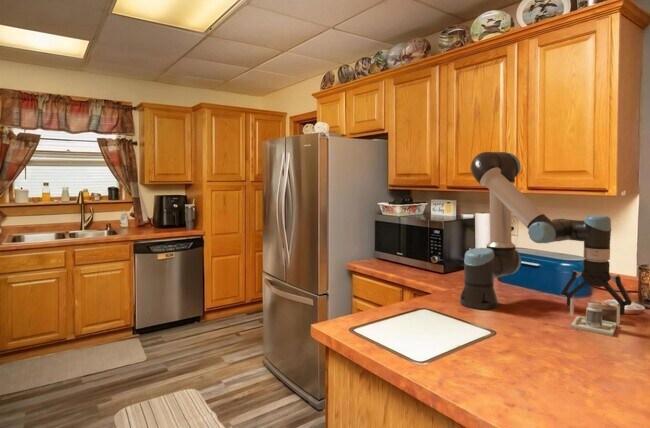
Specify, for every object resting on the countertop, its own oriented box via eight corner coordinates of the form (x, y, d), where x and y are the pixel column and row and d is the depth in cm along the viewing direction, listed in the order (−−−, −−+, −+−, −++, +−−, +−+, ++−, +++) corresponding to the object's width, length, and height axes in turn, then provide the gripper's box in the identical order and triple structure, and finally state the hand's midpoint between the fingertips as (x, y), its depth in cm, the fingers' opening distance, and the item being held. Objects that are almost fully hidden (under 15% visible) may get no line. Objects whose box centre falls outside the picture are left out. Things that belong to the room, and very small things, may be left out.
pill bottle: (604, 328, 134) (605, 304, 133) (589, 327, 135) (590, 304, 134) (597, 323, 139) (598, 300, 138) (583, 322, 140) (584, 300, 139)
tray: (570, 328, 136) (570, 324, 136) (577, 318, 145) (577, 315, 145) (612, 336, 128) (613, 333, 128) (616, 326, 137) (617, 322, 137)
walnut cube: (601, 322, 142) (601, 308, 142) (598, 317, 146) (599, 304, 146) (618, 324, 140) (618, 310, 139) (615, 319, 144) (615, 306, 144)
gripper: (553, 257, 141) (551, 314, 142) (641, 266, 124) (638, 330, 125) (557, 254, 146) (556, 309, 148) (643, 262, 129) (640, 324, 131)
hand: (594, 319), depth 137 cm, fingers open, 13 cm apart
